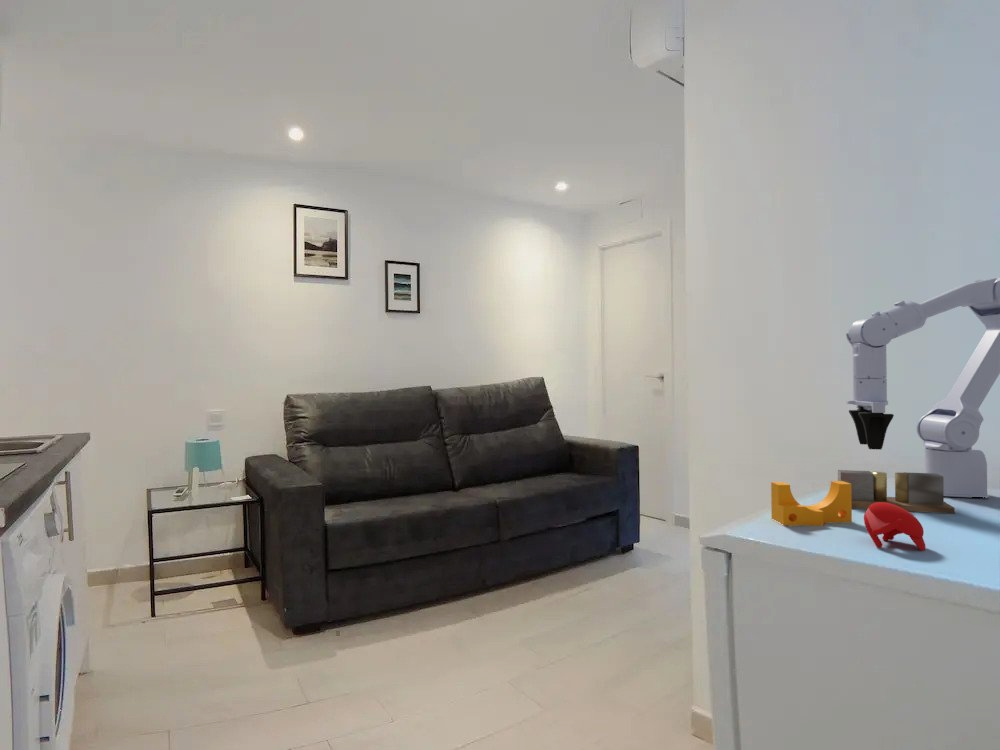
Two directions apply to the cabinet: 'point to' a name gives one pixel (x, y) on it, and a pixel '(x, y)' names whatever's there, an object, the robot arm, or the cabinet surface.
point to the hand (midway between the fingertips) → (870, 446)
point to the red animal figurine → (892, 523)
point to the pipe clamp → (811, 506)
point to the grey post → (865, 484)
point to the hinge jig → (916, 494)
